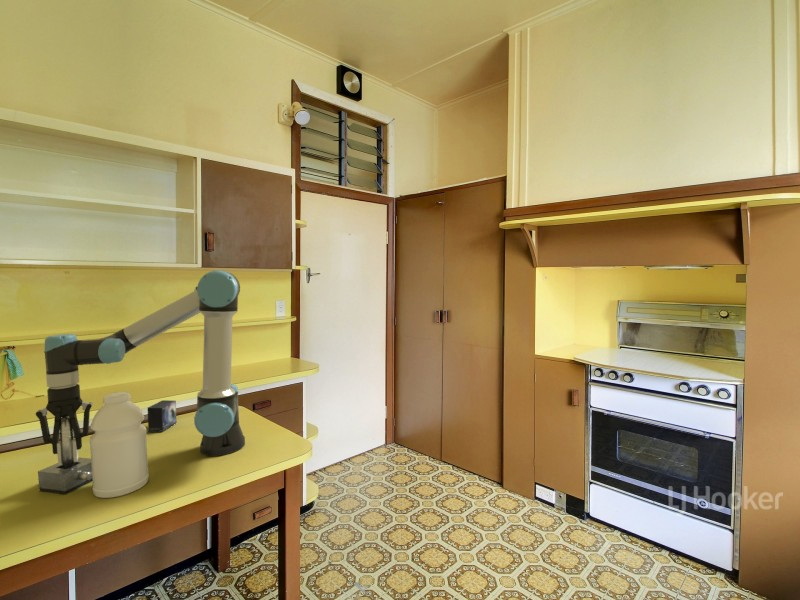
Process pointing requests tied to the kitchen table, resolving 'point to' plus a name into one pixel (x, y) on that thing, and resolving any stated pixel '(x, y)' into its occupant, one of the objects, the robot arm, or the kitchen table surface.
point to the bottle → (118, 447)
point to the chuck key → (66, 442)
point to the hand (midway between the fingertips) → (68, 461)
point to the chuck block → (65, 477)
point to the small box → (161, 416)
